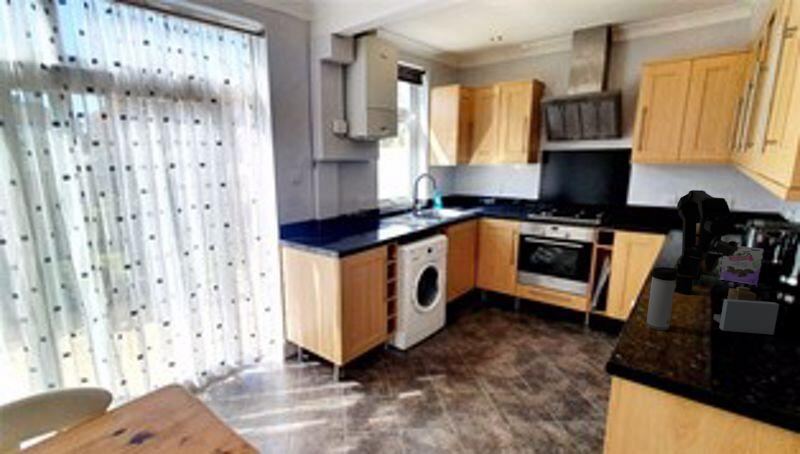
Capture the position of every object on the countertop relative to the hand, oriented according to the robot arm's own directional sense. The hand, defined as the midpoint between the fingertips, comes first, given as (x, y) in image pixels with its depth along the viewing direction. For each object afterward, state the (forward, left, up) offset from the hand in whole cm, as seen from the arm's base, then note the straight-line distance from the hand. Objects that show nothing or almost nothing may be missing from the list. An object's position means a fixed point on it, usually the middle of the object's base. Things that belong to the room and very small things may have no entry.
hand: (702, 273), depth 142 cm
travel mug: (+32, +4, -13) cm, 35 cm away
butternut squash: (-53, -25, -13) cm, 60 cm away
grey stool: (+7, +15, -13) cm, 21 cm away
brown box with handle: (+7, +15, -13) cm, 21 cm away
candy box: (-52, -9, -13) cm, 54 cm away
